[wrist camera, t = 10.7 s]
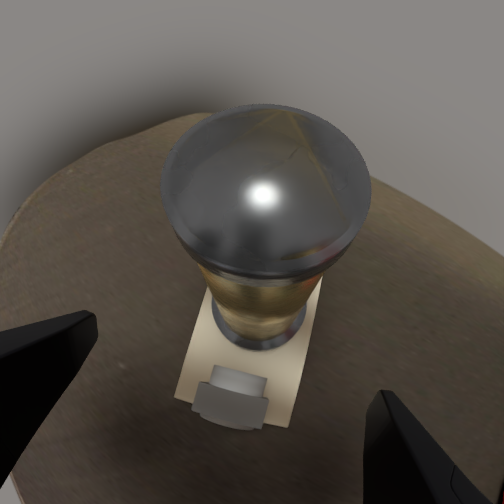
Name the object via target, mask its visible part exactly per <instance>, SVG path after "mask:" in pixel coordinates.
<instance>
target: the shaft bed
mask: <svg viewBox="0 0 504 504" xmlns="http://www.w3.org/2000/svg"><path fill="white" fill-rule="evenodd" d="M321 280H322V277H321V279H320V281H319V282H318V284H317V286H316V287H315V289H314V291H313V292H312V294H311V295H310V297H309V299H308V300H307V310H306V315H305V319H304V321H303V323H302V325H301V327H300V329H299V330H298V332H297V333H296V334H295V335H294V336H293V338H292V339H290V340H289V341H288V342H287V343H286V344H284V345H283V346H281V347H279V348H277V349H274V350H271V351H266V352H252V351H247V350H244V349H241V348H239V347H237V346H235V345H234V344H232V343H231V342H230V341H228V340H227V339H226V338H225V337H224V335H223V334H222V333H221V331H220V330H219V328H218V327H217V325H216V323H215V320H214V317H213V314H212V306H211V301H212V294H211V292H210V290H209V287H207V290H206V293H205V297H204V300H203V303H202V306H201V309H200V312H199V316H198V319H197V322H196V325H195V328H194V332H193V335H192V338H191V341H190V345H189V348H188V351H187V355H186V358H185V361H184V365H183V368H182V371H181V375H180V378H179V382H178V385H177V389H176V392H175V395H174V397H175V398H177V399H180V400H183V401H186V402H189V403H193V405H192V408H191V411H195V412H198V413H200V416H201V417H202V418H204V419H206V420H208V421H210V422H213V423H216V424H219V425H222V426H226V427H230V428H235V429H240V430H253V429H254V428H257V429H261V428H262V425H263V423H267V424H272V425H276V426H281V427H286V428H288V425H289V421H290V417H291V414H292V410H293V406H294V402H295V399H296V395H297V391H298V387H299V383H300V379H301V375H302V371H303V366H304V362H305V358H306V354H307V349H308V345H309V340H310V336H311V331H312V326H313V321H314V317H315V312H316V307H317V302H318V296H319V291H320V286H321Z"/></svg>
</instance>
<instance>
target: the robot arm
mask: <svg viewBox="0 0 504 504" xmlns="http://www.w3.org/2000/svg"><path fill="white" fill-rule="evenodd" d="M97 338H98V328H97V319H96V316H95V314H94V313H92V312H89V311H87V310H82V311H78V312H74V313H71V314H67V315H63V316H59V317H55V318H51V319H48V320H44V321H40V322H36V323H32V324H28V325H24V326H21V327H17V328H13V329H9V330H5V331H1V332H0V489H1V487H2V485H3V484H4V482H5V480H6V479H7V477H8V475H9V474H10V472H11V470H12V469H13V467H14V466H15V464H16V462H17V460H18V459H19V457H20V456H21V454H22V453H23V451H24V450H25V448H26V446H27V445H28V443H29V442H30V440H31V439H32V437H33V436H34V434H35V433H36V431H37V430H38V428H39V427H40V425H41V424H42V422H43V421H44V420H45V418H46V417H47V415H48V414H49V412H50V411H51V409H52V408H53V407H54V405H55V404H56V402H57V401H58V400H59V398H60V397H61V395H62V394H63V393H64V391H65V390H66V388H67V387H68V386H69V384H70V383H71V382H72V380H73V379H74V377H75V376H76V374H77V373H78V371H79V370H80V368H81V366H82V365H83V363H84V361H85V359H86V358H87V356H88V354H89V353H90V351H91V349H92V348H93V346H94V344H95V343H96V341H97ZM454 464H455V463H454V462H453V461H452V460H451V458H450V457H449V456H448V455H447V454H446V453H445V451H444V450H443V449H442V448H441V447H440V446H439V444H438V443H437V442H436V441H435V440H434V439H433V437H432V436H431V435H430V434H429V433H428V432H427V430H426V429H425V428H424V427H423V426H422V425H421V423H420V422H419V421H418V420H417V419H416V418H415V416H414V415H413V414H412V413H411V412H410V411H409V410H408V408H407V407H406V406H405V405H404V404H403V403H402V401H401V400H400V399H399V398H398V397H397V396H396V395H395V393H394V392H392V391H389V390H379V391H378V392H377V394H376V396H375V397H374V399H373V400H372V402H371V404H370V405H369V407H368V409H367V413H366V427H365V440H364V452H363V504H493V503H492V502H491V501H490V500H489V499H488V498H487V497H485V496H484V495H483V494H482V493H481V492H480V491H479V490H478V489H477V488H476V487H475V486H474V485H473V484H472V483H471V481H470V480H469V479H468V478H467V477H466V476H465V475H464V474H463V472H462V471H461V470H460V469H459V468H458V467H457V465H454Z"/></svg>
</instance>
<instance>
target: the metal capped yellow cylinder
mask: <svg viewBox="0 0 504 504" xmlns="http://www.w3.org/2000/svg"><path fill="white" fill-rule="evenodd" d="M160 188H161V198H162V202H163V207H164V209H165V212H166V214H167V216H168V219H169V221H170V223H171V225H172V227H173V229H174V231H175V233H176V235H177V237H178V239H179V241H180V243H181V244H182V246H183V247H184V249H185V250H186V251H187V252H188V253H189V255H190V256H191V257H192V258H193V259H194V260H195V261H196V262H197V263H198V265H199V268H200V270H201V272H202V274H203V276H204V279H205V281H206V283H207V285H208V287H209V290H210V292H211V294H212V301H211V306H212V314H213V317H214V320H215V323H216V325H217V327H218V328H219V330H220V331H221V333H222V334H223V335H224V337H225V338H226V339H227V340H228V341H230V342H231V343H232V344H234V345H235V346H237V347H239V348H241V349H244V350H247V351H252V352H266V351H271V350H274V349H277V348H279V347H281V346H283V345H284V344H286V343H287V342H288V341H289V340H290V339H292V338H293V336H294V335H295V334H296V333H297V332H298V330H299V329H300V327H301V325H302V323H303V321H304V319H305V315H306V310H307V300H308V299H309V297H310V295H311V294H312V292H313V291H314V289H315V287H316V286H317V284H318V282H319V281H320V279H321V277H322V276H323V274H324V272H325V271H326V270H327V269H328V268H329V267H331V266H332V265H333V264H334V263H335V262H336V261H337V260H338V259H339V258H340V257H341V256H342V255H343V254H344V253H345V251H346V250H347V249H348V247H349V246H350V244H351V243H352V241H353V239H354V238H355V236H356V235H357V233H358V231H359V230H360V228H361V227H362V225H363V223H364V221H365V219H366V217H367V214H368V210H369V207H370V202H371V181H370V176H369V172H368V169H367V166H366V163H365V161H364V159H363V158H362V156H361V154H360V152H359V151H358V149H357V148H356V146H355V145H354V144H353V143H352V142H351V141H350V140H349V138H348V137H347V136H346V135H345V134H344V133H342V132H341V131H340V130H339V129H337V128H336V127H335V126H333V125H332V124H331V123H329V122H327V121H326V120H324V119H322V118H320V117H318V116H316V115H314V114H311V113H309V112H306V111H303V110H300V109H297V108H292V107H288V106H282V105H274V104H254V105H253V104H252V105H244V106H239V107H235V108H230V109H227V110H223V111H220V112H218V113H215V114H213V115H211V116H209V117H207V118H205V119H203V120H202V121H200V122H198V123H197V124H195V125H194V126H193V127H191V128H190V129H189V130H188V131H187V132H185V133H184V134H183V135H182V136H181V137H180V139H179V140H178V141H177V142H176V143H175V145H174V146H173V148H172V149H171V151H170V152H169V154H168V156H167V159H166V161H165V163H164V166H163V170H162V174H161V183H160Z"/></svg>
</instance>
